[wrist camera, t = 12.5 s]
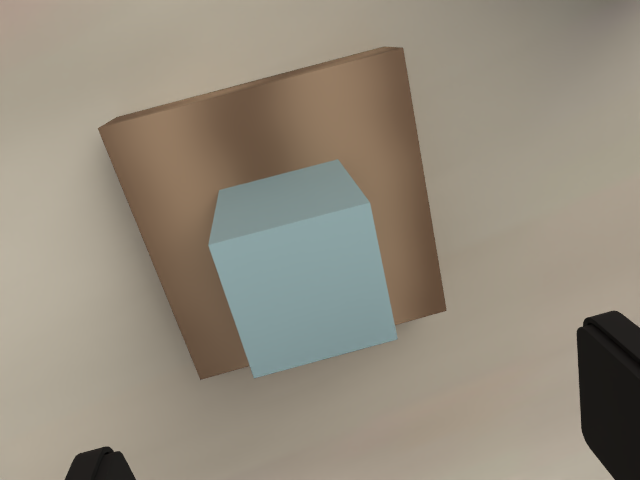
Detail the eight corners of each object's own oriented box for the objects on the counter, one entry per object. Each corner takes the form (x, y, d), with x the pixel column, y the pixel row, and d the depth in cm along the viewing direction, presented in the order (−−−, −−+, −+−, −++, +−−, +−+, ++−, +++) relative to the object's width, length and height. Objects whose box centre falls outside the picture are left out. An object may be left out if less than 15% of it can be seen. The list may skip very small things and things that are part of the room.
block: (338, 159, 21) (370, 202, 15) (361, 266, 23) (397, 339, 17) (219, 190, 21) (208, 245, 15) (252, 295, 23) (254, 378, 17)
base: (384, 46, 22) (403, 47, 20) (426, 282, 27) (446, 310, 24) (116, 117, 22) (97, 128, 19) (205, 344, 27) (200, 379, 24)
